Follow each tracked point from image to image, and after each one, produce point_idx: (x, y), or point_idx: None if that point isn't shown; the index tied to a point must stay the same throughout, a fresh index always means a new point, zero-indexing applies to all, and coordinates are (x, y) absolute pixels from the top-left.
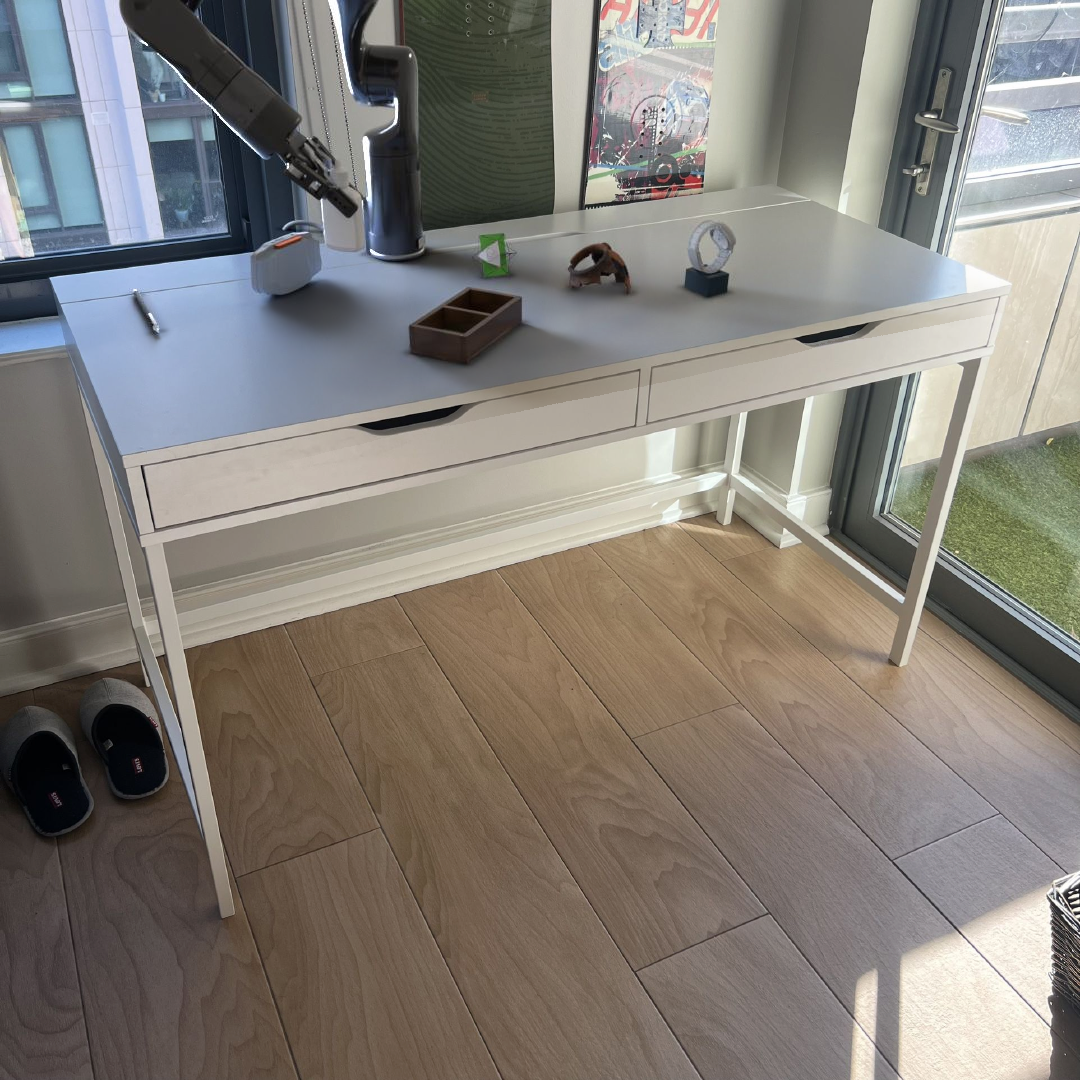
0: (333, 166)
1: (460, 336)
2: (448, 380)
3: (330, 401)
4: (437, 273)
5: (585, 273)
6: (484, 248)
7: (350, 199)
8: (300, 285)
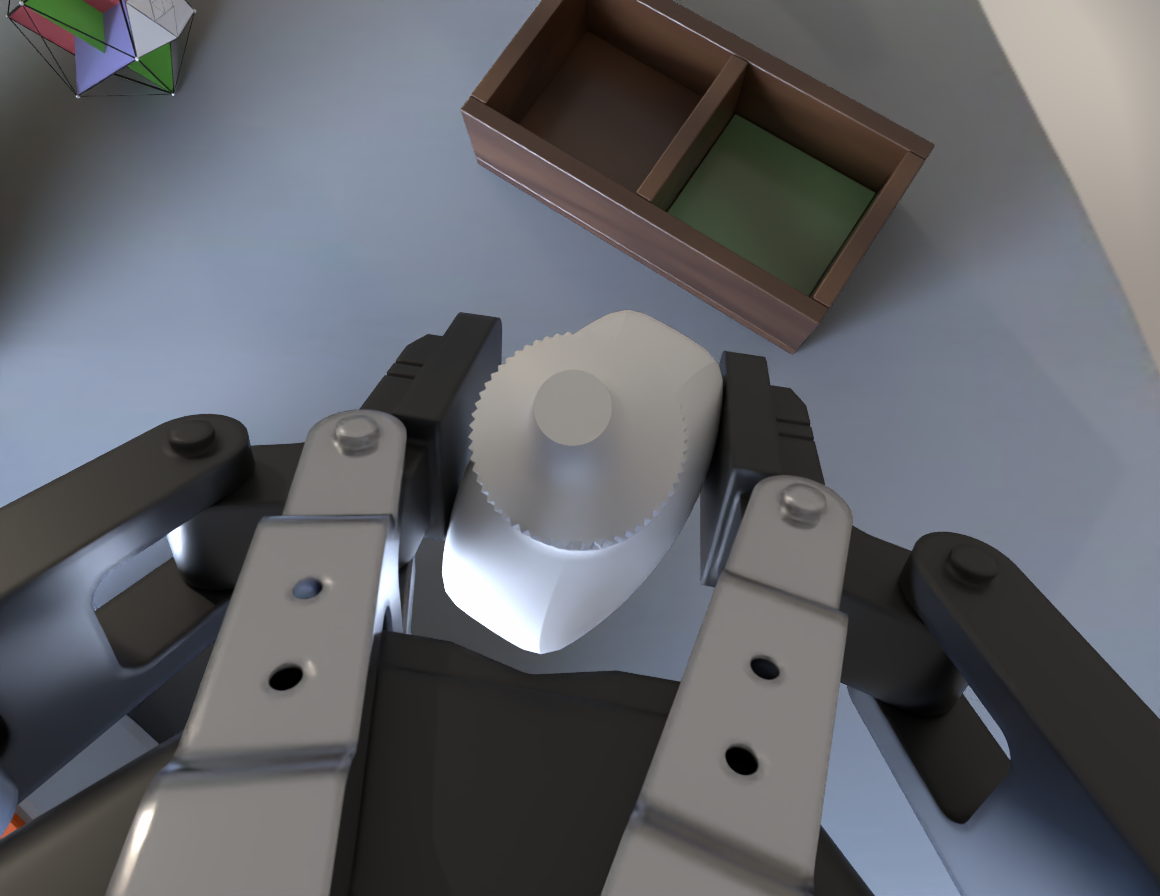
0: (340, 505)
1: (922, 163)
2: (1003, 255)
3: (1151, 605)
4: (98, 237)
5: None
6: (75, 24)
7: (758, 391)
8: (133, 725)
